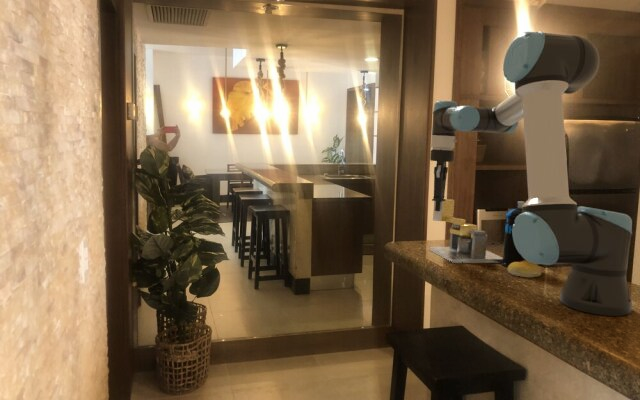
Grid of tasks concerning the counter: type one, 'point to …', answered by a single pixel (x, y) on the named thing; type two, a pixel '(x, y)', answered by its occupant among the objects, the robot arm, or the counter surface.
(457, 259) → the socket base
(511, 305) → the counter surface
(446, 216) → the gold branched bar piece
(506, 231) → the aerosol can
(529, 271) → the bread roll
